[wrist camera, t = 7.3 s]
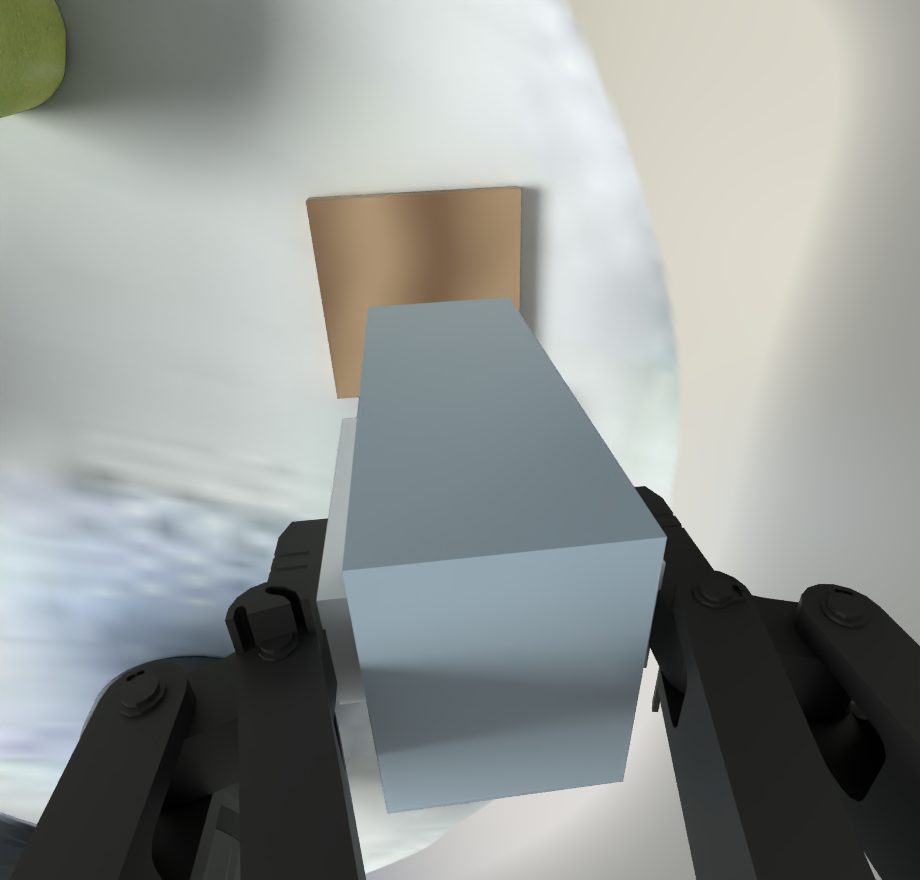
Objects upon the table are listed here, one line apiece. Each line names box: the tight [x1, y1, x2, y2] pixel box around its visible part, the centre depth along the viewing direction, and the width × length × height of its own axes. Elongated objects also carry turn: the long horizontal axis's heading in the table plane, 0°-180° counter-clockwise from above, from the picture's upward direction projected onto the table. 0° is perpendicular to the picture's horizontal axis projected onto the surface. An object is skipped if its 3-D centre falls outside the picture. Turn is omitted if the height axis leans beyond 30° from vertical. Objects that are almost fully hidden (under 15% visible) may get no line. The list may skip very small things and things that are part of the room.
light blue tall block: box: [342, 297, 667, 813], centre depth 15 cm, size 4×6×12 cm
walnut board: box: [306, 186, 521, 399], centre depth 30 cm, size 10×10×1 cm
